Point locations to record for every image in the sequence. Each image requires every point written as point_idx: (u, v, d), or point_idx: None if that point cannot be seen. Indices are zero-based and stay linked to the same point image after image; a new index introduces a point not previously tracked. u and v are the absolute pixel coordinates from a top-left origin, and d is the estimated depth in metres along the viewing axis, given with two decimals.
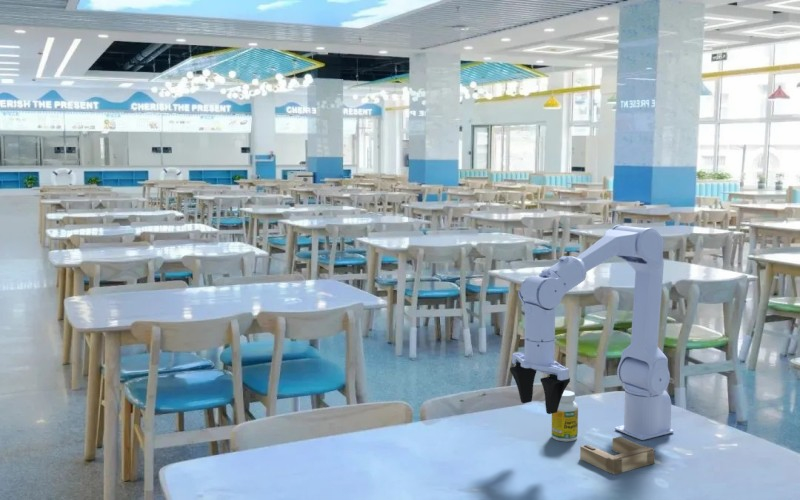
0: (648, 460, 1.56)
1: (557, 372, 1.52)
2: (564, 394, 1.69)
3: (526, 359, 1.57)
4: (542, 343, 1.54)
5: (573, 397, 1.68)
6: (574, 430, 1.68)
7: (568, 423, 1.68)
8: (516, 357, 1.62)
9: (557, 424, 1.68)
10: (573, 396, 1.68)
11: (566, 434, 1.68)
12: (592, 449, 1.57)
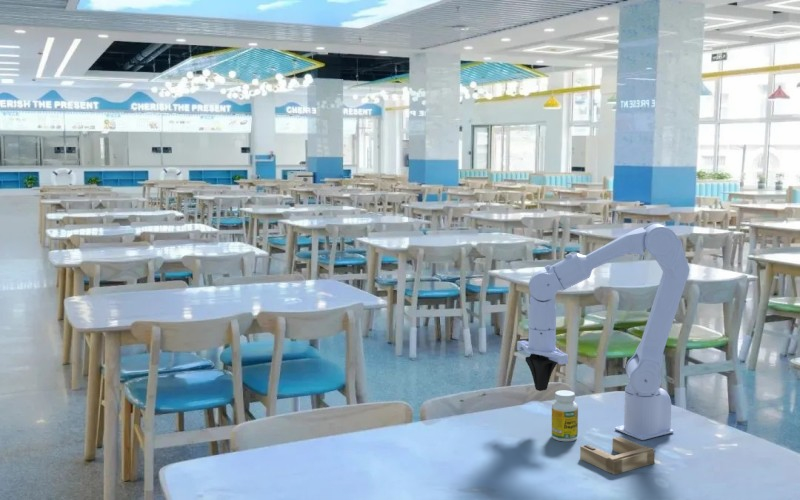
0: (648, 460, 1.56)
1: (558, 357, 1.69)
2: (564, 394, 1.69)
3: (530, 346, 1.74)
4: (544, 331, 1.72)
5: (573, 397, 1.68)
6: (574, 430, 1.68)
7: (568, 423, 1.68)
8: (521, 344, 1.79)
9: (557, 424, 1.69)
10: (573, 396, 1.68)
11: (566, 434, 1.68)
12: (592, 449, 1.57)
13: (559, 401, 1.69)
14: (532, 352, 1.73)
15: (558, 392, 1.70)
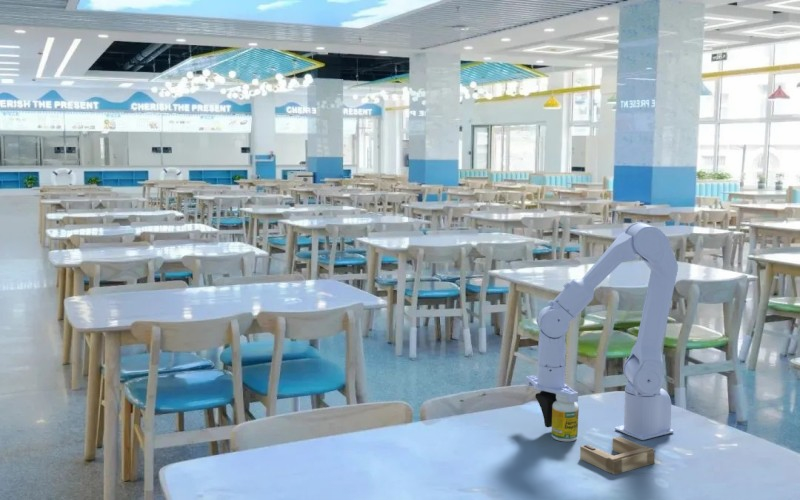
0: (648, 460, 1.56)
1: (567, 395, 1.67)
2: None
3: (539, 382, 1.72)
4: (554, 368, 1.70)
5: None
6: (574, 430, 1.68)
7: (568, 423, 1.68)
8: (530, 380, 1.77)
9: (558, 424, 1.68)
10: None
11: (566, 434, 1.68)
12: (592, 449, 1.57)
13: (560, 401, 1.68)
14: (541, 389, 1.71)
15: None
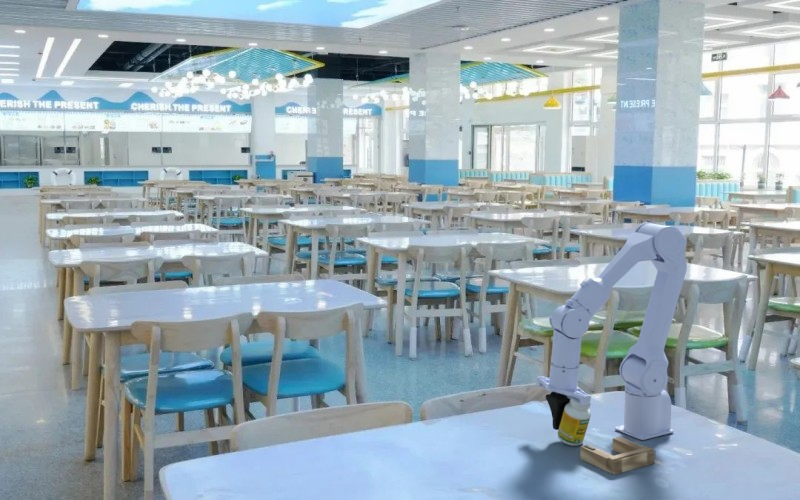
0: (648, 460, 1.56)
1: (580, 398, 1.62)
2: None
3: (551, 383, 1.67)
4: (567, 369, 1.65)
5: None
6: (583, 435, 1.66)
7: (581, 430, 1.64)
8: (541, 380, 1.72)
9: (569, 429, 1.65)
10: None
11: (576, 439, 1.65)
12: (592, 449, 1.57)
13: (576, 408, 1.64)
14: (553, 390, 1.66)
15: (574, 397, 1.65)
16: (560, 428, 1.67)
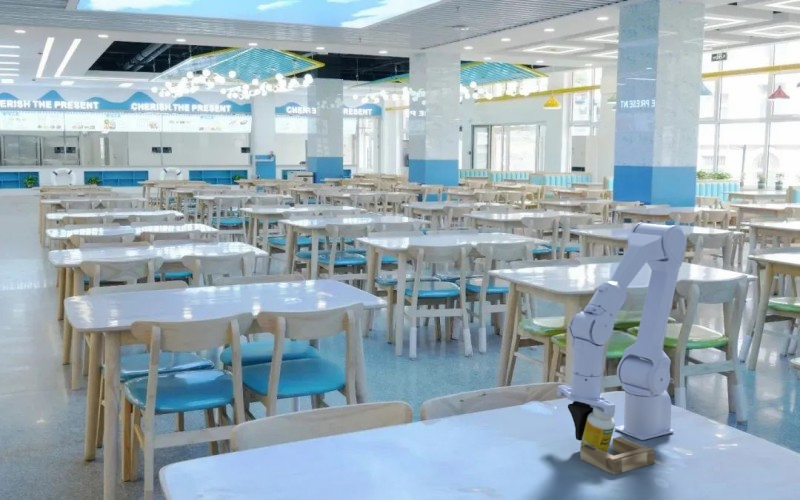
0: (648, 460, 1.56)
1: (604, 407, 1.57)
2: None
3: (573, 392, 1.62)
4: (590, 378, 1.60)
5: (613, 414, 1.59)
6: (608, 446, 1.60)
7: (605, 440, 1.59)
8: (562, 389, 1.67)
9: (593, 440, 1.59)
10: None
11: None
12: (592, 449, 1.57)
13: (599, 417, 1.58)
14: (575, 399, 1.60)
15: (597, 406, 1.59)
16: (583, 438, 1.61)
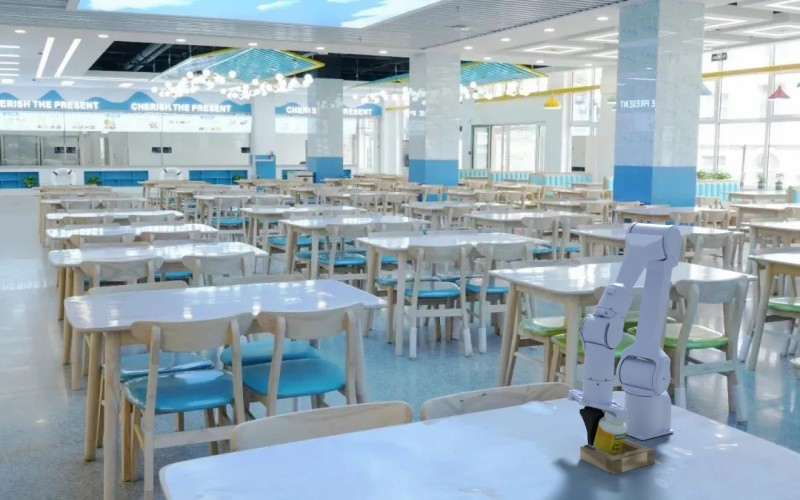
0: (648, 460, 1.56)
1: (616, 411, 1.55)
2: None
3: (584, 397, 1.59)
4: (602, 382, 1.57)
5: (625, 419, 1.56)
6: (620, 451, 1.58)
7: (616, 445, 1.56)
8: (573, 394, 1.65)
9: (604, 445, 1.57)
10: None
11: None
12: (592, 449, 1.57)
13: (610, 422, 1.56)
14: (587, 404, 1.58)
15: (609, 411, 1.57)
16: (595, 443, 1.59)
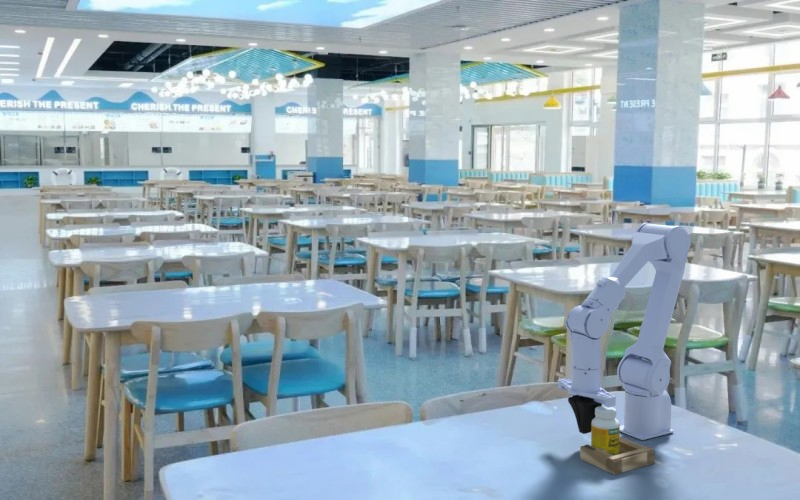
0: (648, 460, 1.56)
1: (604, 399, 1.58)
2: (606, 410, 1.58)
3: (573, 386, 1.63)
4: (589, 371, 1.61)
5: (615, 413, 1.58)
6: (617, 448, 1.58)
7: (612, 441, 1.57)
8: (562, 383, 1.68)
9: (600, 443, 1.58)
10: (615, 412, 1.58)
11: (610, 453, 1.57)
12: (592, 449, 1.57)
13: (601, 418, 1.58)
14: (576, 393, 1.62)
15: (598, 408, 1.59)
16: (592, 445, 1.60)
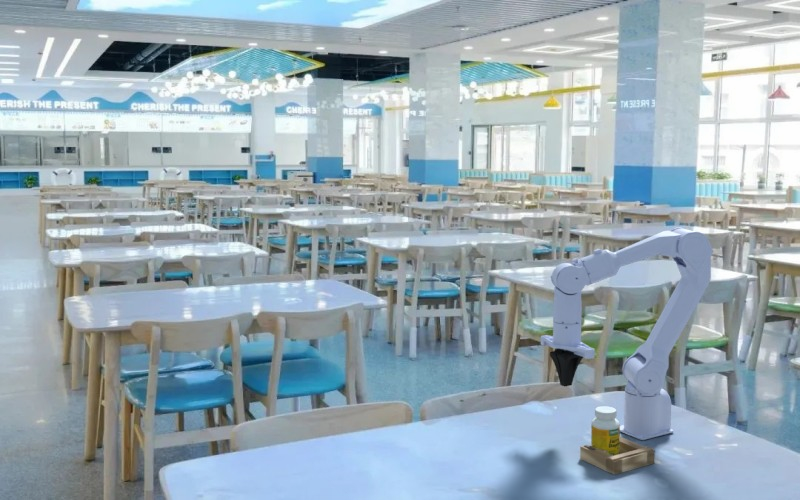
0: (648, 460, 1.56)
1: (584, 352, 1.65)
2: (606, 411, 1.58)
3: (555, 340, 1.70)
4: (570, 325, 1.68)
5: None
6: (617, 448, 1.58)
7: (613, 442, 1.57)
8: (545, 339, 1.75)
9: (601, 443, 1.57)
10: None
11: (610, 453, 1.57)
12: (592, 449, 1.57)
13: (602, 419, 1.57)
14: (557, 347, 1.69)
15: (598, 409, 1.59)
16: None
